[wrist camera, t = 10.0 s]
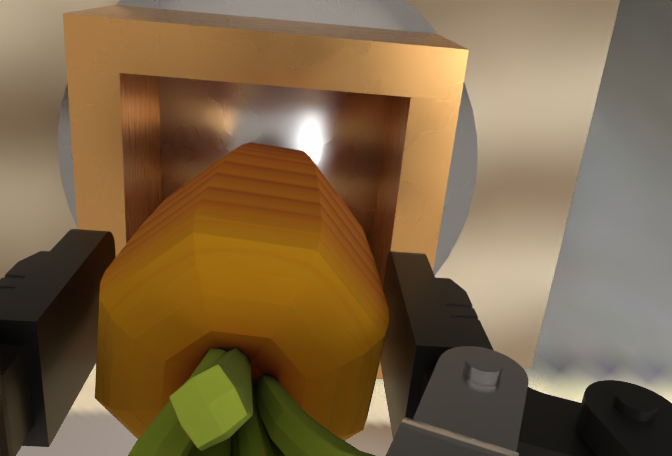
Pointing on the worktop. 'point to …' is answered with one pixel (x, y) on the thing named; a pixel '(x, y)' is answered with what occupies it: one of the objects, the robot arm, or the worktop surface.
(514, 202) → the base board
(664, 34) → the worktop surface
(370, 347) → the carrot
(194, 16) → the socket collar
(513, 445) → the robot arm
